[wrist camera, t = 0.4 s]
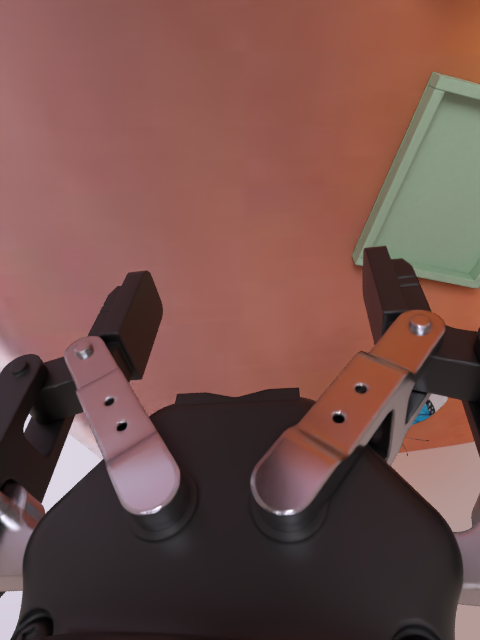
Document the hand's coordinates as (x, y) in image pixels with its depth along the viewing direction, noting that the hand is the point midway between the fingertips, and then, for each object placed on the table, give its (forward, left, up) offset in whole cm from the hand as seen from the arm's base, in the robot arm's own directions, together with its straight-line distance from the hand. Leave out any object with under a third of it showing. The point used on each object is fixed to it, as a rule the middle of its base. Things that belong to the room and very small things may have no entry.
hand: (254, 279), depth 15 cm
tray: (+1, +17, -20) cm, 27 cm away
